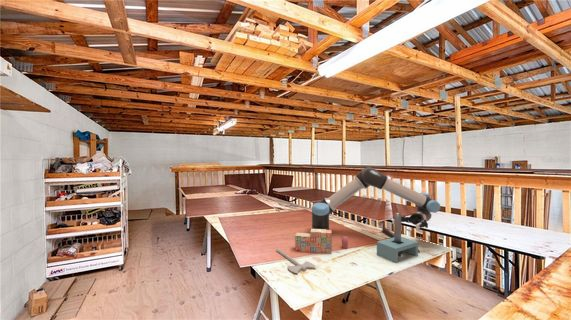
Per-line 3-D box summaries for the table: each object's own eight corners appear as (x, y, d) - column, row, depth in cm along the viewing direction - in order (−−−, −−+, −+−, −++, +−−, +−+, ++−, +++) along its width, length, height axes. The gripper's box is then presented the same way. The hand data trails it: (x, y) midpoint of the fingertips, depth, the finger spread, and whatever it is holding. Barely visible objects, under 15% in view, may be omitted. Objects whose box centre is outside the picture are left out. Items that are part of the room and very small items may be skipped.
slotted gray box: (419, 258, 141) (420, 250, 141) (416, 258, 141) (416, 250, 141) (383, 231, 180) (383, 225, 180) (380, 232, 180) (380, 225, 180)
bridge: (395, 262, 127) (395, 248, 127) (376, 254, 138) (376, 241, 137) (417, 255, 137) (418, 242, 137) (398, 248, 148) (398, 235, 147)
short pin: (342, 248, 147) (342, 238, 147) (340, 246, 150) (341, 236, 150) (348, 248, 147) (348, 237, 147) (346, 246, 151) (346, 236, 150)
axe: (267, 254, 140) (267, 250, 139) (287, 249, 146) (287, 245, 146) (294, 276, 114) (294, 271, 114) (318, 269, 121) (318, 265, 121)
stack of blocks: (295, 251, 143) (295, 230, 143) (296, 247, 149) (296, 227, 149) (331, 254, 139) (331, 232, 139) (331, 249, 145) (331, 229, 145)
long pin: (396, 256, 135) (396, 214, 135) (392, 253, 139) (393, 212, 139) (402, 256, 136) (402, 213, 135) (398, 253, 139) (398, 212, 139)
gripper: (439, 228, 149) (427, 236, 134) (398, 220, 167) (384, 226, 153) (439, 216, 148) (427, 222, 134) (398, 209, 167) (384, 214, 153)
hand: (404, 224), depth 144 cm, fingers open, 13 cm apart
